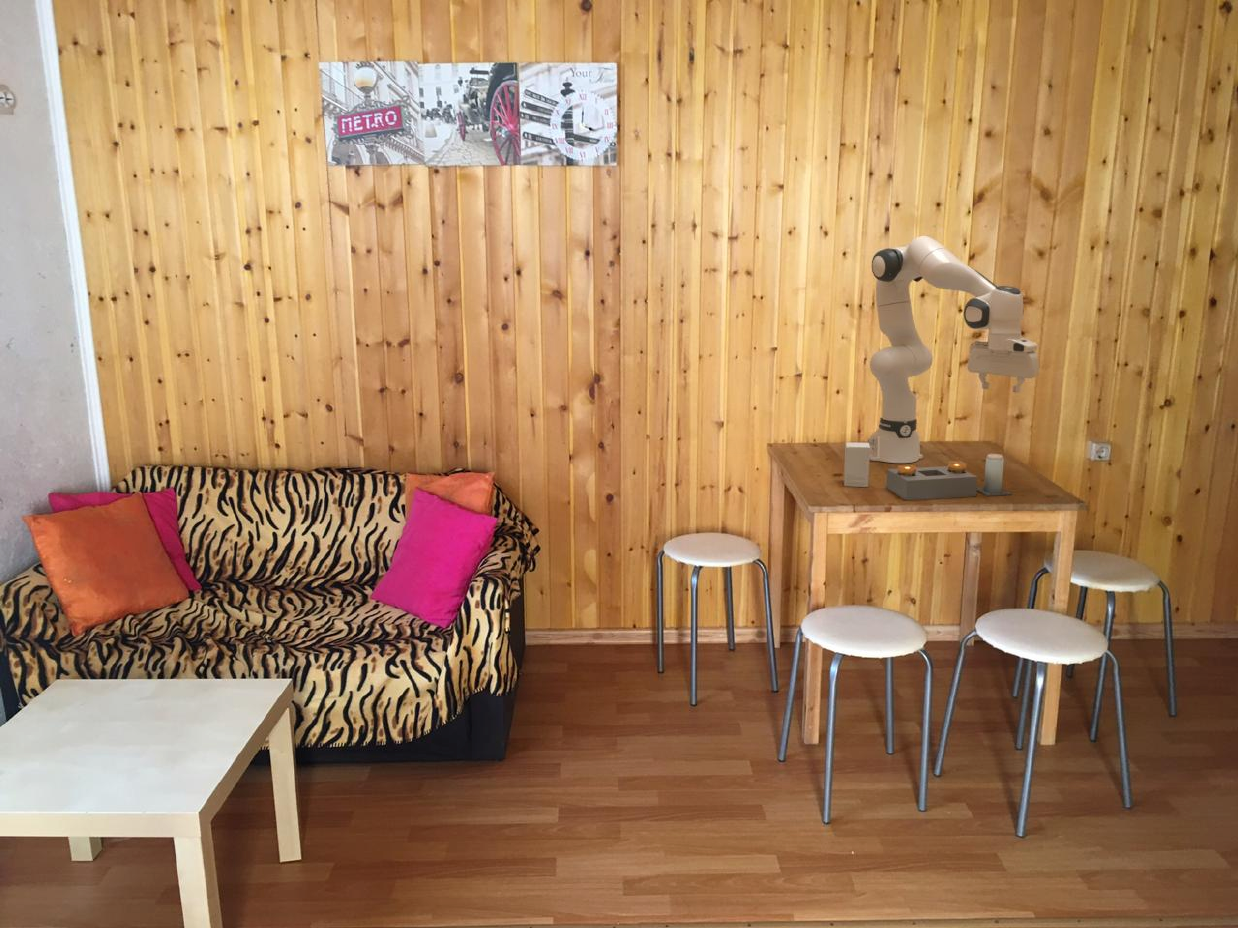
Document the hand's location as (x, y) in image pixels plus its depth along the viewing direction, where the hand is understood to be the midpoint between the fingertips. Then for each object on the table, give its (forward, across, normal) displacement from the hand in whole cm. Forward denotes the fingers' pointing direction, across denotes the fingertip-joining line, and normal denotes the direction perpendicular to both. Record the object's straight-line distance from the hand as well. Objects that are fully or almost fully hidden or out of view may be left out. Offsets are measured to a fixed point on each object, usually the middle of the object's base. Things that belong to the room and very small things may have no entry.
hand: (1000, 390), depth 297 cm
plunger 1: (+30, -18, -19) cm, 40 cm away
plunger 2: (+30, -9, -6) cm, 32 cm away
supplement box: (+31, -35, -19) cm, 51 cm away
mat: (+31, 0, 0) cm, 31 cm away
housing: (+31, -14, -12) cm, 36 cm away
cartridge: (+31, 0, 0) cm, 31 cm away
